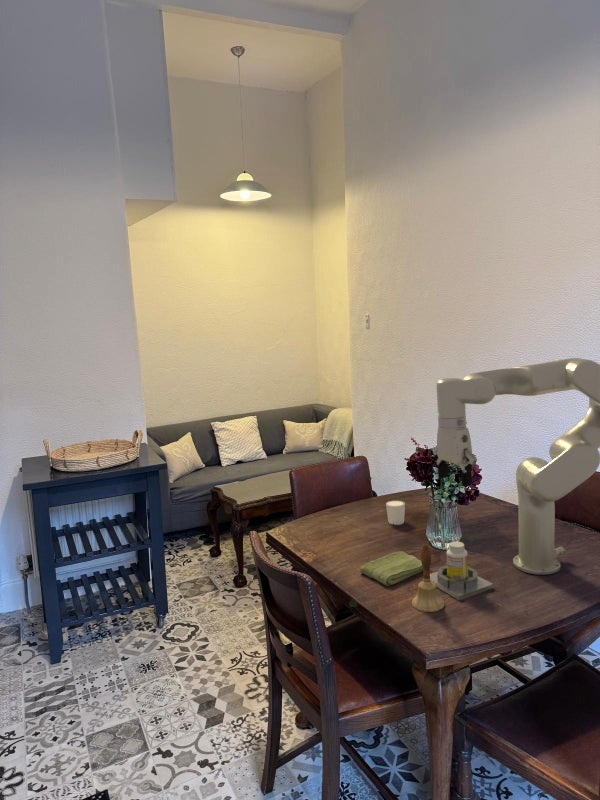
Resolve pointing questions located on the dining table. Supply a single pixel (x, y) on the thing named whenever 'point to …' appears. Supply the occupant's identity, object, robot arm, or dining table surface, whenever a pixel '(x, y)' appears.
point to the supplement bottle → (457, 561)
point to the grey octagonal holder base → (460, 583)
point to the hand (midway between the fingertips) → (454, 481)
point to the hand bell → (427, 587)
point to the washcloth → (392, 568)
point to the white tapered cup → (395, 512)
